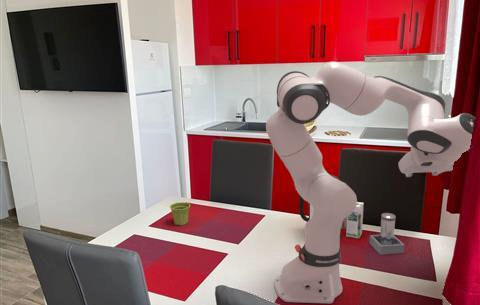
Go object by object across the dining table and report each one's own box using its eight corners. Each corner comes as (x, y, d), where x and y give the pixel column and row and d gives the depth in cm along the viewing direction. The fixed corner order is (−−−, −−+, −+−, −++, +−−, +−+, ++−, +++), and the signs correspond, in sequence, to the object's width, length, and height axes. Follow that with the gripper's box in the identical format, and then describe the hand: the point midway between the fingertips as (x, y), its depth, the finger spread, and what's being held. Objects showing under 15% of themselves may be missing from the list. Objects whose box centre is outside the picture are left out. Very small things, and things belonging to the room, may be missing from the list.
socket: (380, 254, 146) (380, 246, 146) (369, 243, 156) (369, 235, 155) (403, 253, 147) (404, 244, 147) (391, 241, 157) (392, 233, 156)
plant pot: (168, 221, 182) (167, 204, 179) (187, 217, 185) (186, 200, 183) (174, 228, 173) (172, 211, 171) (193, 224, 177) (192, 207, 175)
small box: (346, 229, 169) (347, 212, 167) (336, 228, 170) (337, 211, 168) (346, 224, 174) (347, 208, 172) (337, 223, 175) (337, 207, 173)
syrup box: (345, 236, 162) (347, 204, 159) (348, 230, 167) (350, 200, 164) (359, 239, 160) (361, 206, 156) (362, 233, 165) (364, 202, 161)
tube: (382, 251, 149) (385, 218, 145) (376, 245, 154) (379, 213, 150) (395, 250, 149) (398, 217, 146) (389, 244, 154) (391, 212, 151)
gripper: (469, 143, 119) (446, 164, 131) (407, 146, 117) (389, 167, 129) (477, 160, 116) (453, 181, 128) (414, 163, 114) (395, 184, 126)
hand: (420, 174), depth 128 cm, fingers open, 8 cm apart
